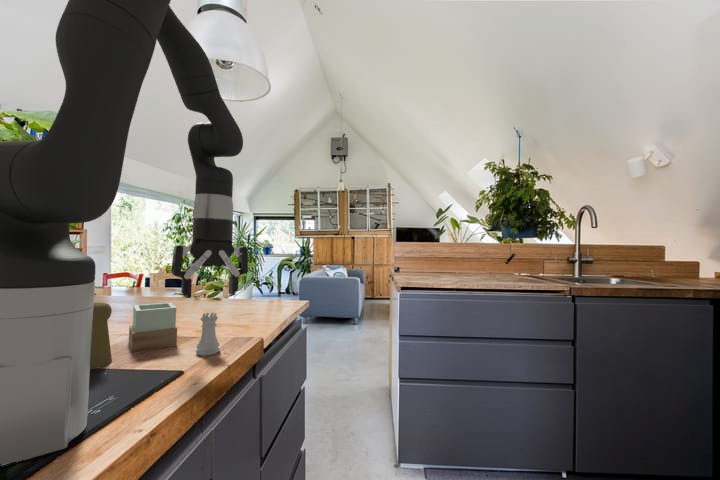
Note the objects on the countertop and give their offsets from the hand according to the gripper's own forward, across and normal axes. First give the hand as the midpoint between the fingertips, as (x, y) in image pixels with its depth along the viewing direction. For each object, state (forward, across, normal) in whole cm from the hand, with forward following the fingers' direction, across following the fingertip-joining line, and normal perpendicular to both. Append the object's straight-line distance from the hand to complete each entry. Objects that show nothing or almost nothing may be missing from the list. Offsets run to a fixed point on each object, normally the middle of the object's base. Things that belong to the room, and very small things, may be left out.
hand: (211, 295), depth 64 cm
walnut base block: (+12, -8, +13) cm, 19 cm away
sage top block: (+8, -8, +13) cm, 17 cm away
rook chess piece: (+12, 0, 0) cm, 12 cm away
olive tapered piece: (+12, -19, +5) cm, 23 cm away
